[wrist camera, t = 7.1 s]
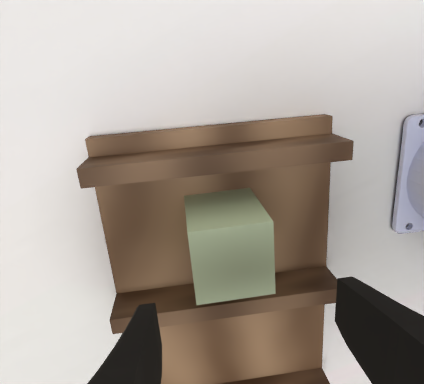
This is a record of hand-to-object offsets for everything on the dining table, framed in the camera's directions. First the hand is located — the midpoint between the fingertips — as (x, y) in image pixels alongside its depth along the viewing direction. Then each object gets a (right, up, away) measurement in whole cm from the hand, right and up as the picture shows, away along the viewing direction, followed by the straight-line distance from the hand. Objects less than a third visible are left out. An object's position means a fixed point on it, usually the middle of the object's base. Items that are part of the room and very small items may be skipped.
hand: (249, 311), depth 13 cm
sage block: (-1, +3, +8) cm, 8 cm away
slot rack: (-1, -1, +10) cm, 10 cm away
